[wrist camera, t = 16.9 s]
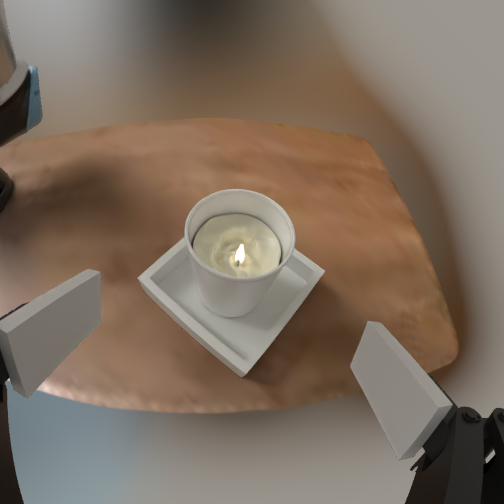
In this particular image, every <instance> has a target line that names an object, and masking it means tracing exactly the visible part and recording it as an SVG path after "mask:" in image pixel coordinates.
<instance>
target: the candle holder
mask: <svg viewBox="0 0 504 504" xmlns="http://www.w3.org/2000/svg"><path fill="white" fill-rule="evenodd" d="M295 239H296V238H295V230H294V226H293V224H292V221H291V219H290V217H289V216H288V214H287V213H286V212H285V211H284V209H283V208H282V207H281V206H280V205H278V204H277V203H276V202H275V201H273V200H272V199H270V198H268V197H266V196H264V195H262V194H260V193H257V192H253V191H249V190H242V189H229V190H223V191H219V192H215V193H213V194H210V195H208V196H207V197H205V198H203V199H202V200H201V201H199V202H198V203H197V204H196V205H195V206H194V207H193V209H192V210H191V211H190V213H189V215H188V217H187V220H186V223H185V241H186V245H187V248H188V252H189V257H190V262H191V267H192V272H193V276H194V281H195V286H196V290H197V293H198V296H199V298H200V300H201V302H202V303H203V304H204V306H205V307H206V308H207V309H209V310H210V311H211V312H213V313H215V314H217V315H219V316H223V317H230V318H232V317H240V316H243V315H246V314H248V313H249V312H251V311H252V310H253V309H255V308H256V307H257V305H258V304H259V303H260V302H261V300H262V299H263V297H264V296H265V294H266V293H267V291H268V290H269V288H270V287H271V285H272V284H273V282H274V281H275V279H276V278H277V276H278V275H279V273H280V272H281V270H282V268H283V267H284V266H285V265H286V264H287V262H288V261H289V259H290V258H291V256H292V254H293V251H294V247H295Z"/></svg>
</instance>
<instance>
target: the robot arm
mask: <svg viewBox="0 0 504 504" xmlns="http://www.w3.org/2000/svg"><path fill="white" fill-rule="evenodd" d="M42 117H43V113H42V105H41V97H40V89H39V78H38V68H37V66H33V67H32V66H31V67H29V68H28V65H27V63H26V62H25V61H24V60H22V59H16V57H15V54H14V50H13V46H12V42H11V38H10V34H9V30H8V25H7V20H6V15H5V9H4V2H3V0H0V147H2V146H3V145H5V144H7V143H8V142H10V141H12V140H14V139H15V138H17V137H19V136H20V135H22V134H24V133H27V132H28V130H30V129H32V128H33V127H35V126H37V125H38V124H39V123H40V122H41V120H42ZM11 190H12V182H11V180H10V178H9V176H8V174H7V173H6V172H5V171H4V170H3V169H2V168H0V212H1V211H2V209H3V208H4V206H5V204H6V203H7V201H8V199H9V197H10V194H11ZM101 322H102V321H101V272H99V271H95V270H92V269H87V270H85V271H83V272H81V273H80V274H78V275H76V276H74V277H72V278H71V279H69V280H67V281H65V282H63V283H62V284H60V285H58V286H56V287H55V288H53V289H51V290H50V291H48V292H46V293H44V294H43V295H41V296H39V297H38V298H36V299H34V300H33V301H31V302H28V303H25V304H22V305H20V306H19V307H17V308H16V309H15V310H12V311H11V312H9V313H8V314H6V315H4V316H3V317H1V318H0V504H24V503H23V500H22V496H21V493H20V488H19V484H18V480H17V476H16V471H15V466H14V462H13V455H12V449H11V442H10V434H9V424H8V410H7V388H6V385H5V381H6V380H8V379H9V378H10V381H11V384H12V386H13V389H14V390H15V391H16V392H18V393H19V394H21V395H23V396H24V397H26V398H27V399H28V398H29V397H30V396H31V395H32V394H33V392H34V391H35V390H36V389H37V388H38V387H39V386H40V385H41V384H42V383H43V381H44V380H45V379H46V378H47V377H48V376H49V375H50V374H51V373H52V372H53V371H54V370H55V369H56V368H57V366H58V365H59V364H60V363H61V362H62V361H63V360H64V359H65V358H66V357H67V356H68V355H69V354H70V353H71V352H72V351H73V350H74V349H75V348H76V347H77V346H78V345H79V344H80V343H81V342H82V341H83V340H84V339H85V338H86V337H87V336H88V335H89V334H90V333H91V332H92V331H93V330H94V329H95V328H96V327H97V326H98V325H99V324H100V323H101ZM350 368H351V370H352V371H353V373H354V375H355V377H356V379H357V381H358V383H359V385H360V386H361V388H362V390H363V392H364V394H365V396H366V398H367V399H368V402H369V403H370V405H371V407H372V409H373V411H374V413H375V415H376V417H377V419H378V421H379V422H380V425H381V427H382V428H383V431H384V433H385V435H386V436H387V439H388V440H389V442H390V444H391V446H392V449H393V451H394V453H395V454H396V457H397V458H398V460H402V459H406V458H410V457H414V456H415V454H416V453H417V452H418V451H419V450H420V449H421V447H423V448H424V450H425V453H424V454H423V455H422V456H421V457H420V458H419V460H418V461H417V462H416V463H415V464H414V465H413V466H412V467H411V469H410V470H411V471H412V470H413V469H414V468H415V467H417V466H418V468H417V470H416V474H415V478H414V480H413V483H412V486H411V489H410V492H409V494H408V497H407V500H406V502H405V504H504V409H502V408H496V409H494V411H493V412H492V413H491V415H490V416H489V418H481V416H480V414H479V413H478V412H477V411H475V410H474V409H472V408H470V407H460V408H458V407H457V406H456V404H455V403H454V402H453V401H452V400H451V399H450V397H449V396H448V395H447V394H446V393H445V391H443V390H442V388H441V387H440V386H439V384H438V385H437V382H436V381H435V380H434V379H433V378H432V376H430V375H429V374H427V373H426V372H425V371H424V370H423V369H422V368H421V367H420V365H419V364H418V363H417V362H416V361H415V360H414V359H413V357H412V356H411V355H410V354H409V353H408V352H407V351H406V350H405V349H404V347H403V346H402V345H401V344H400V343H399V342H398V341H397V340H396V339H395V338H394V337H393V335H392V334H391V333H390V332H389V331H388V330H387V329H386V328H385V327H384V326H383V325H382V324H381V323H380V322H373V321H368V322H367V324H366V327H365V330H364V332H363V335H362V338H361V340H360V343H359V345H358V348H357V350H356V353H355V355H354V358H353V360H352V362H351V365H350ZM493 450H494V451H495V455H494V457H493V458H492V459H491V460H490V461H489V462H488V463H486V461H485V459H486V458H487V457H488V455H489V454H490V453H491V452H492V451H493Z"/></svg>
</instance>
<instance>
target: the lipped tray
mask: <svg viewBox="0 0 504 504" xmlns="http://www.w3.org/2000/svg"><path fill="white" fill-rule="evenodd" d="M324 272H325V271H324V270H323V269H322V268H320V267H319V266H318V265H316V264H315V263H314V262H312V261H311V260H310V259H308V258H307V257H305V256H304V255H303V254H301V253H300V252H299V251H297V250H296V249H295V248H294V251H293V254H292V256H291V258H290V259H289V261H288V262H287V264H286V265H285V266H284V267H283V268H282V270H281V272H280V273H279V275H278V276H277V278H276V279H275V281H274V282H273V284H272V285H271V287H270V288H269V290H268V291H267V293H266V294H265V296H264V297H263V299H262V300H261V302H260V303H259V304H258V305H257V307H256V308H255V309H253V310H252V311H251V312H249V313H248V314H246V315H243V316H240V317H232V318H230V317H223V316H219V315H217V314H215V313H213V312H211V311H210V310H209V309H207V308H206V307H205V306H204V304H203V303H202V302H201V300H200V298H199V296H198V293H197V290H196V286H195V281H194V276H193V272H192V267H191V262H190V257H189V252H188V248H187V245H186V241H185V237H184V238H182V239H181V240H180V241H179V242H178V243H177V244H175V245H174V246H173V247H172V248H171V249H170V250H168V251H167V252H166V253H165V254H164V255H163V256H162V257H160V258H159V259H158V260H157V261H156V262H155V263H154V264H153V265H151V266H150V267H149V268H148V269H147V270H146V271H145V272H144V273H142V274H141V275H140V276H139V277H138V280H139V282H140V284H141V286H142V288H143V290H144V292H145V293H146V294H147V295H148V296H149V297H150V298H151V299H152V300H153V301H154V302H155V303H156V304H157V305H158V306H159V307H160V308H161V309H162V310H163V311H164V312H165V313H167V314H168V315H169V316H170V317H171V318H172V319H173V320H174V321H175V322H176V323H177V324H178V325H179V326H181V327H182V328H183V329H184V330H185V331H186V332H187V333H188V334H189V335H191V336H192V337H193V338H194V339H195V340H196V341H197V342H199V343H200V344H201V345H202V346H203V347H204V348H206V349H207V350H208V351H209V352H210V353H211V354H213V355H214V356H215V357H216V358H217V359H219V360H220V361H221V362H222V363H224V364H225V365H226V366H227V367H229V368H230V369H231V370H232V371H234V372H235V373H236V374H237V375H239V376H240V377H241V378H242V377H243V376H245V375H246V374H247V373H248V371H249V370H250V369H251V368H252V367H253V365H254V364H255V363H256V362H257V360H258V359H259V358H260V357H261V356H262V354H263V353H264V352H265V351H266V349H267V348H268V347H269V346H270V344H271V343H272V342H273V341H274V339H275V338H276V337H277V335H278V334H279V333H280V332H281V330H282V329H283V328H284V326H285V325H286V324H287V323H288V321H289V320H290V319H291V317H292V316H293V315H294V313H295V312H296V311H297V309H298V308H299V307H300V305H301V304H302V302H303V301H304V300H305V298H306V297H307V296H308V294H309V293H310V292H311V290H312V289H313V287H314V286H315V285H316V283H317V282H318V280H319V279H320V277H321V276H322V275H323V273H324Z"/></svg>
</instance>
